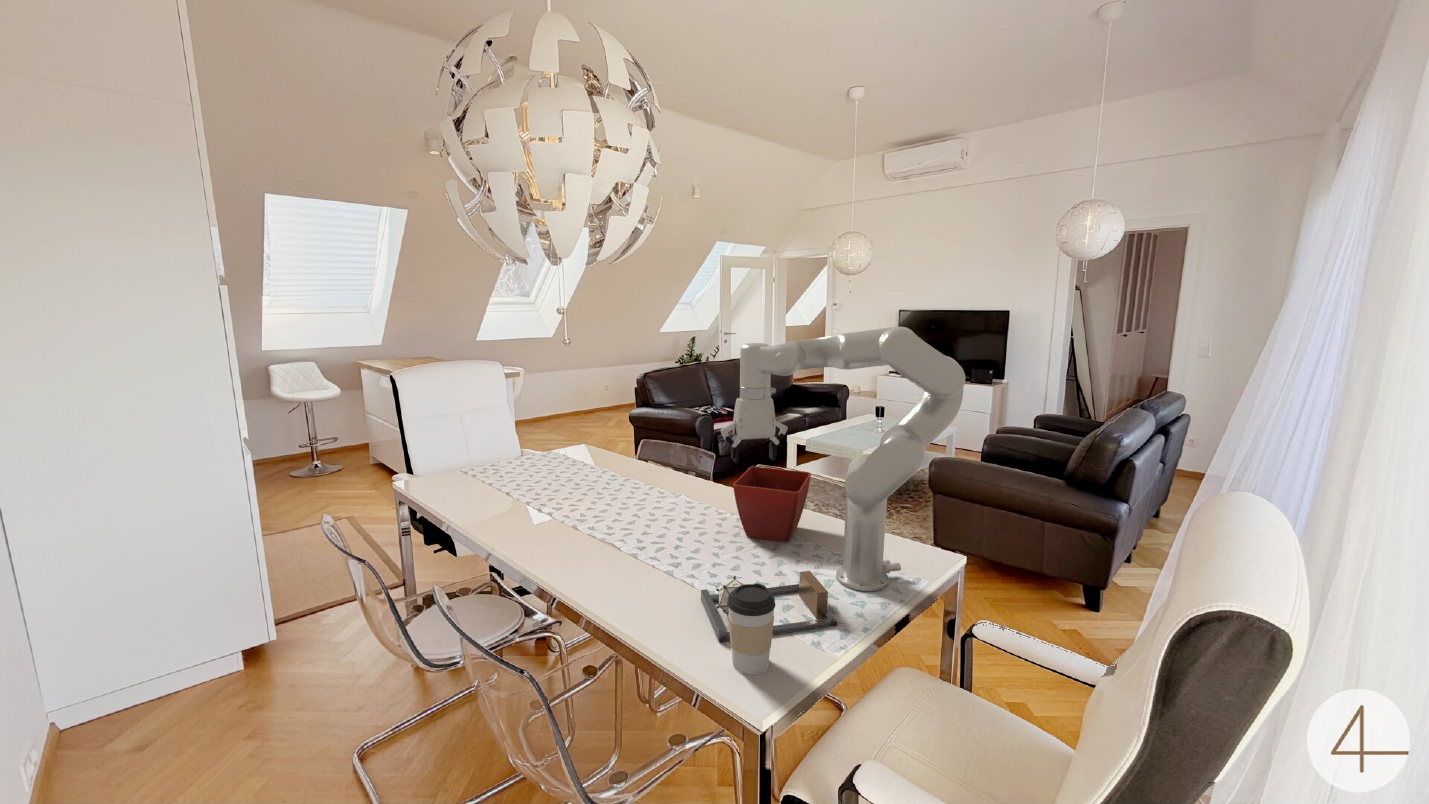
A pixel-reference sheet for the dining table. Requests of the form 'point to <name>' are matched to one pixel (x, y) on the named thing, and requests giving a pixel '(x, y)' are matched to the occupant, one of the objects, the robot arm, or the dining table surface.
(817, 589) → the frame
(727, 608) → the game die
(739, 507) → the plant pot
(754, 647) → the coffee cup
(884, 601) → the dining table surface
